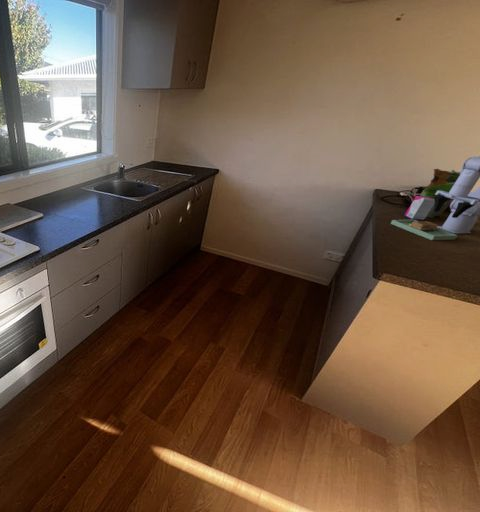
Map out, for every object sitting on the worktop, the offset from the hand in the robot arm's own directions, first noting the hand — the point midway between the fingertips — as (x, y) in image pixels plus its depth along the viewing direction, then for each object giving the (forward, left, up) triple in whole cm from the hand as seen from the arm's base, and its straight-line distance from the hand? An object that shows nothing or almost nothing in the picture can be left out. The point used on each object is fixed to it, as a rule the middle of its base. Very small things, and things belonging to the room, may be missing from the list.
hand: (444, 214), depth 134 cm
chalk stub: (+4, -7, -9) cm, 12 cm away
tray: (+4, -2, -9) cm, 10 cm away
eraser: (+4, -2, -9) cm, 10 cm away
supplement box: (-11, -18, -10) cm, 23 cm away
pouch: (-22, -21, -10) cm, 32 cm away
